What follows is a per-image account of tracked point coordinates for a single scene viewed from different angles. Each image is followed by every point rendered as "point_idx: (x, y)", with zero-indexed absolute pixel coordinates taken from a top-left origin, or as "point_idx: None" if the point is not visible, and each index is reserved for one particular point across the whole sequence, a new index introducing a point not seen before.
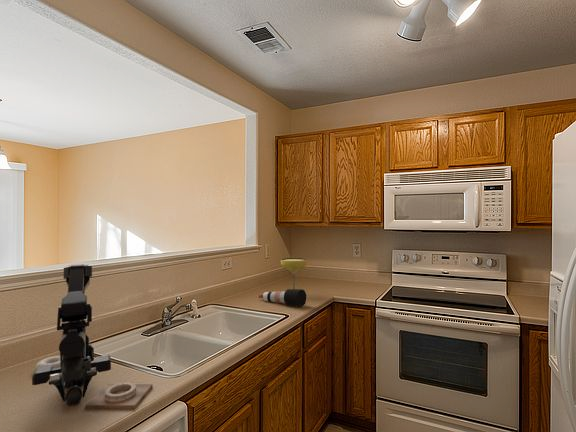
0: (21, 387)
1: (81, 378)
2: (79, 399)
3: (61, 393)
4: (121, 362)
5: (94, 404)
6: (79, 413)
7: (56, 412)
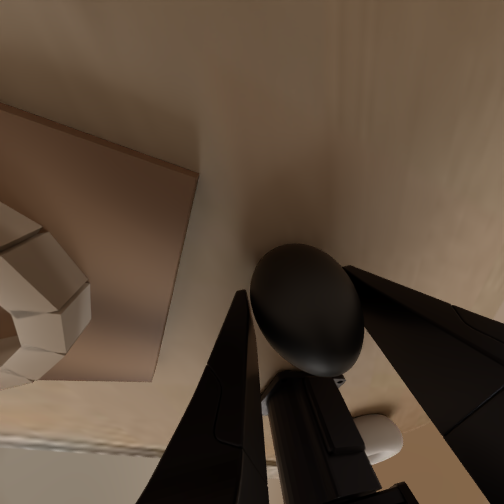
0: None
1: (284, 411)
2: (258, 268)
3: (414, 297)
4: None
5: (101, 159)
6: (219, 106)
7: (366, 191)
